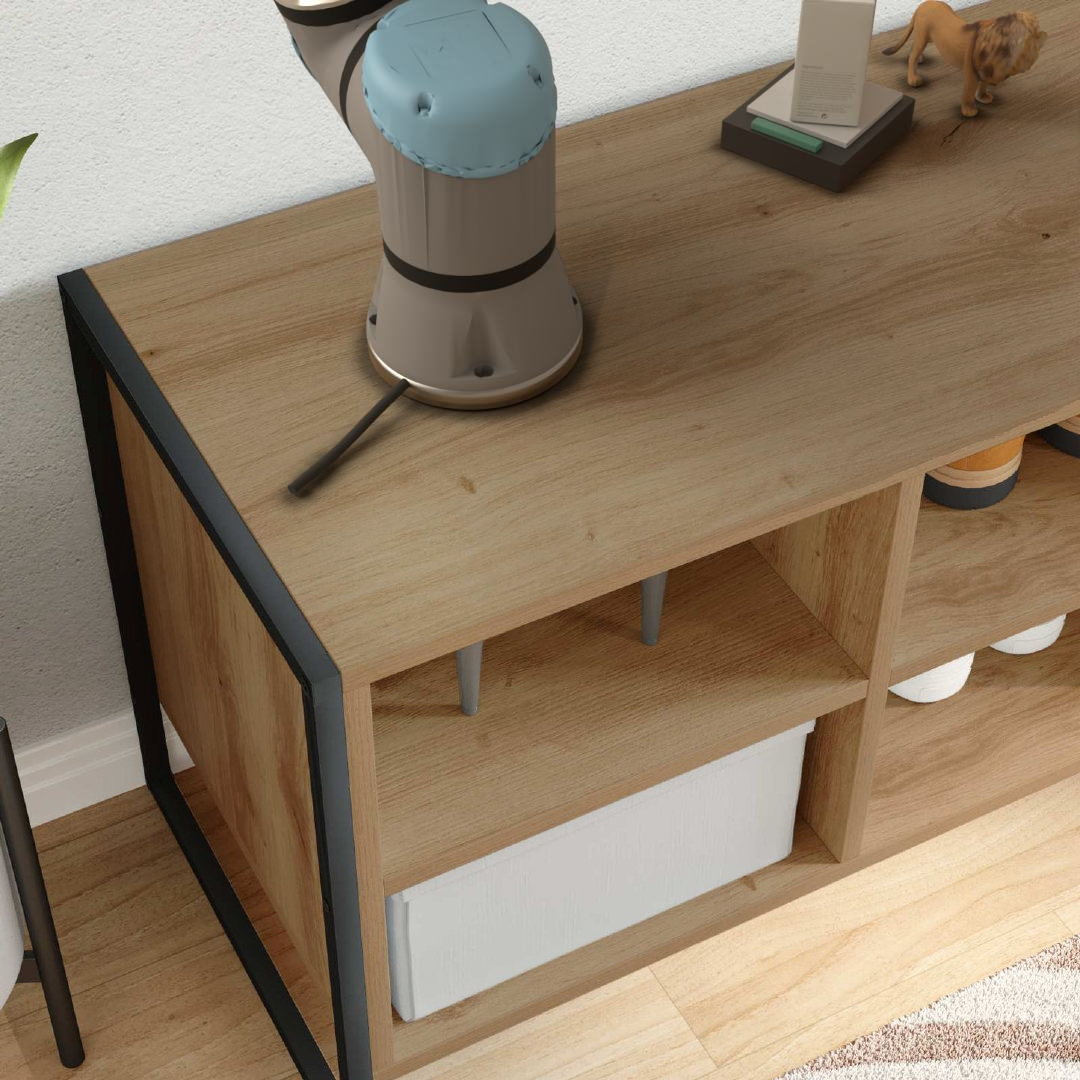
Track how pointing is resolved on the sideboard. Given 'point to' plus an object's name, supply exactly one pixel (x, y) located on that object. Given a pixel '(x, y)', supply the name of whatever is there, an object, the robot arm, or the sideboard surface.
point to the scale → (815, 133)
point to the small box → (831, 61)
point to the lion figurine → (974, 47)
